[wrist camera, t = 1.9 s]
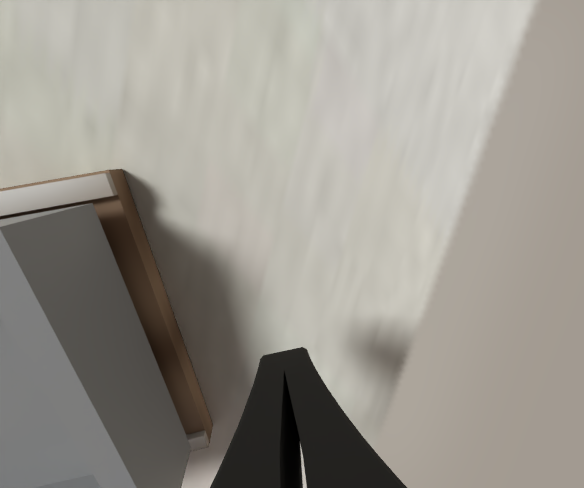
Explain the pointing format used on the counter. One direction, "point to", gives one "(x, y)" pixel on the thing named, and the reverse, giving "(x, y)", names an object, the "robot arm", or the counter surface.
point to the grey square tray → (78, 365)
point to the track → (127, 277)
